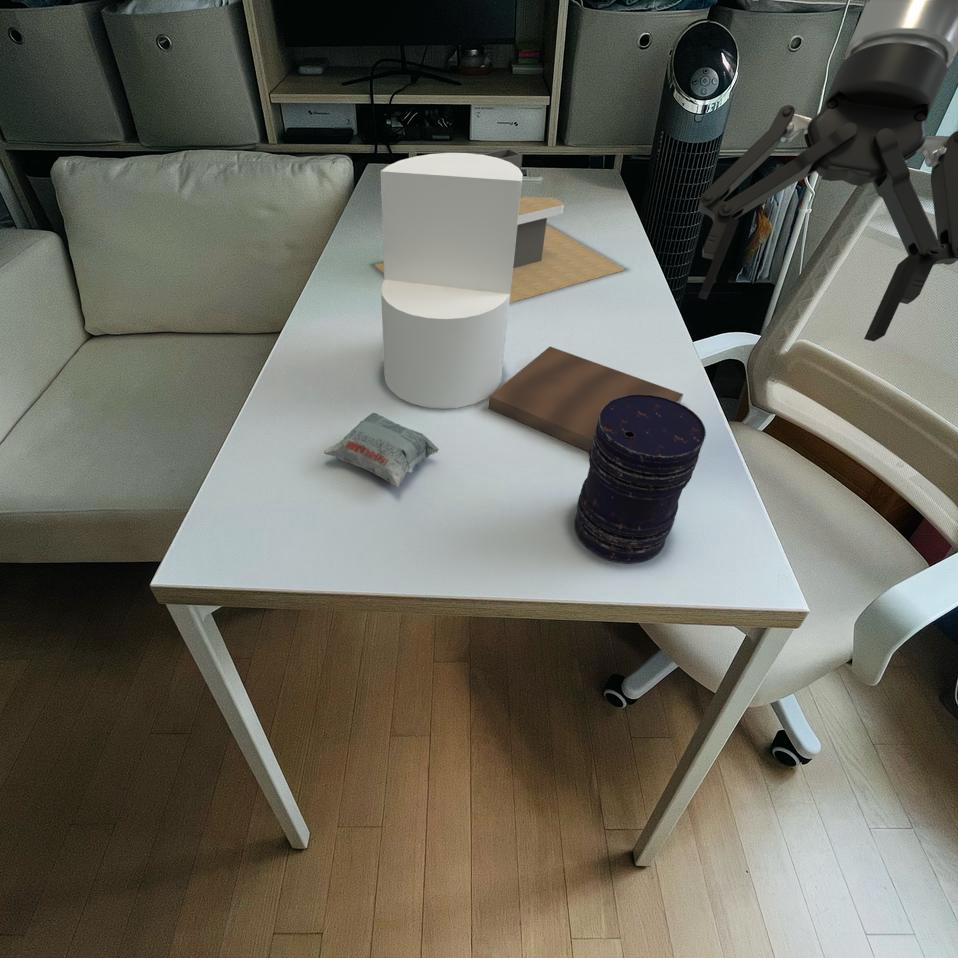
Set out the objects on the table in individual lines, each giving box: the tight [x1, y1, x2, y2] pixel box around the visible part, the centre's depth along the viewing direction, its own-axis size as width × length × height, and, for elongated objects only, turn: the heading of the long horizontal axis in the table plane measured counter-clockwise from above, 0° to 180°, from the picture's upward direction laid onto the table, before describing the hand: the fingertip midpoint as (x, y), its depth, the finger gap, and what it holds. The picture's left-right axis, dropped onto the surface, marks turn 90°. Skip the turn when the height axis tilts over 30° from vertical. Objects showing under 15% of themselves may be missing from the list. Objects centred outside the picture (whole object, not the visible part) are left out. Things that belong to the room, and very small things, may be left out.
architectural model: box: [374, 148, 626, 304], centre depth 115 cm, size 38×25×20 cm, turn 115°
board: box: [487, 346, 684, 453], centre depth 89 cm, size 20×16×2 cm
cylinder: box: [380, 152, 524, 410], centre depth 88 cm, size 17×17×28 cm
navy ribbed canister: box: [573, 395, 707, 564], centre depth 68 cm, size 10×10×15 cm
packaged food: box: [323, 412, 440, 488], centre depth 82 cm, size 9×12×5 cm
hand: (784, 315), depth 57 cm, fingers open, 13 cm apart
